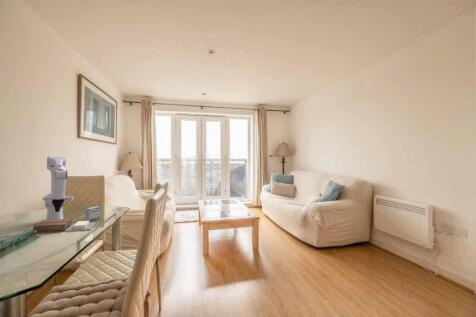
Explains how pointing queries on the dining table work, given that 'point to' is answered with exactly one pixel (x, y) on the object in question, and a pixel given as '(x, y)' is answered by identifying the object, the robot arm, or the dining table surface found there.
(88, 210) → the medicine box
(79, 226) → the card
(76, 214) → the dining table surface
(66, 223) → the brown wooden tray
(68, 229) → the mat
